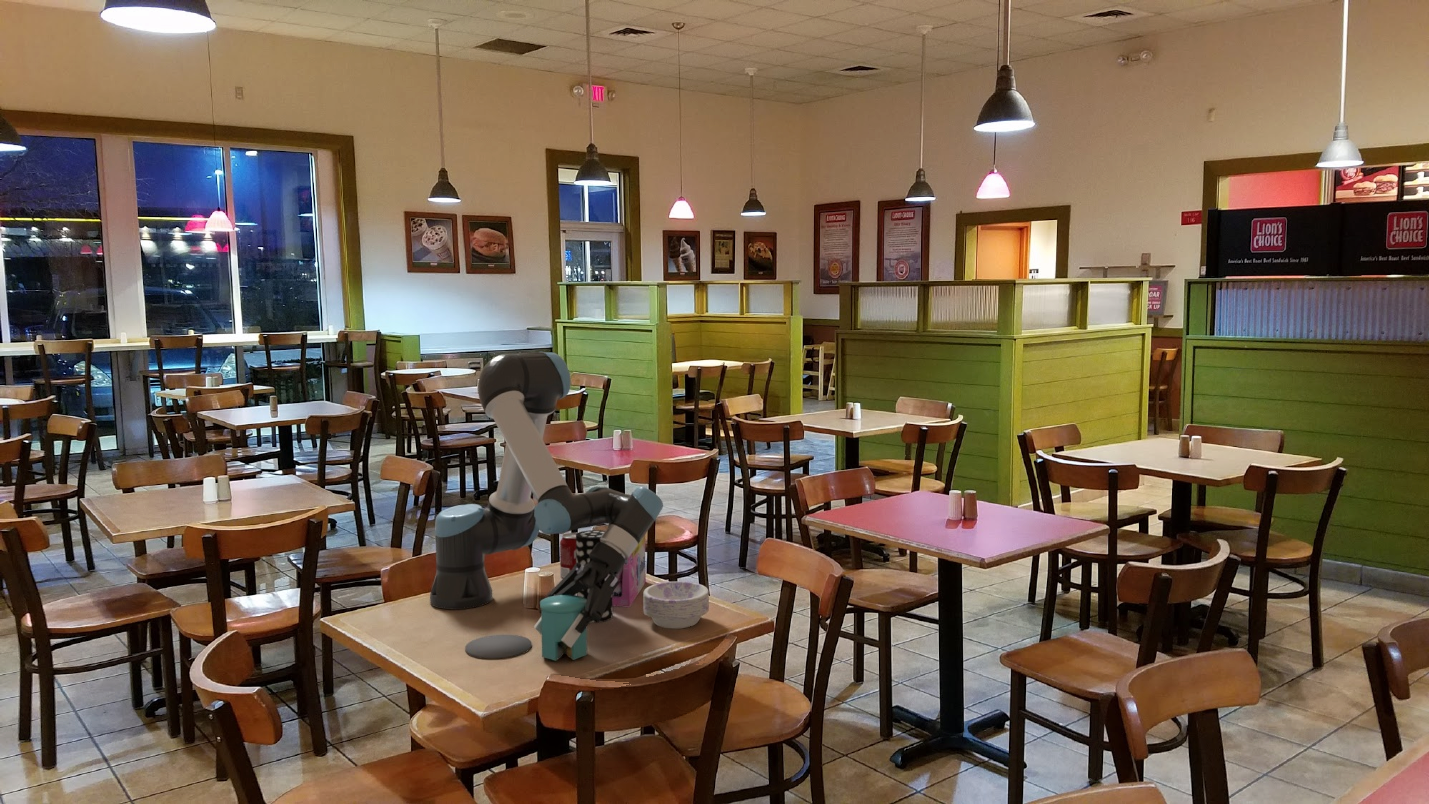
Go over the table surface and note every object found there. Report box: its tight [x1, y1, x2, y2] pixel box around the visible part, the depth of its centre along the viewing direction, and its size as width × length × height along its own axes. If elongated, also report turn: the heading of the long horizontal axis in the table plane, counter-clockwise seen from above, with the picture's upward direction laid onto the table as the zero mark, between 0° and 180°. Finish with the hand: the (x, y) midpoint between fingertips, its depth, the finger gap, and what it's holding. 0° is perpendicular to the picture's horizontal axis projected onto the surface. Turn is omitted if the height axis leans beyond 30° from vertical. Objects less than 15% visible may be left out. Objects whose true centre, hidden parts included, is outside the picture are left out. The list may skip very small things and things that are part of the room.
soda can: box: [559, 532, 578, 580], centre depth 276 cm, size 7×7×12 cm
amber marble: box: [565, 646, 572, 659], centre depth 216 cm, size 3×3×3 cm
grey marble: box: [557, 645, 564, 660], centre depth 215 cm, size 3×3×3 cm
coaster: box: [464, 633, 532, 660], centre depth 222 cm, size 14×14×1 cm
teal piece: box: [539, 594, 588, 661], centre depth 216 cm, size 10×10×11 cm
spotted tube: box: [576, 529, 614, 623], centre depth 243 cm, size 8×8×20 cm
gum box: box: [612, 534, 647, 608], centre depth 262 cm, size 24×8×14 cm, turn 174°
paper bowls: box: [642, 581, 710, 630], centre depth 239 cm, size 15×15×8 cm
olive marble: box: [558, 641, 567, 655], centre depth 219 cm, size 3×3×3 cm
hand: (551, 637), depth 214 cm, fingers closed on teal piece, 10 cm apart
